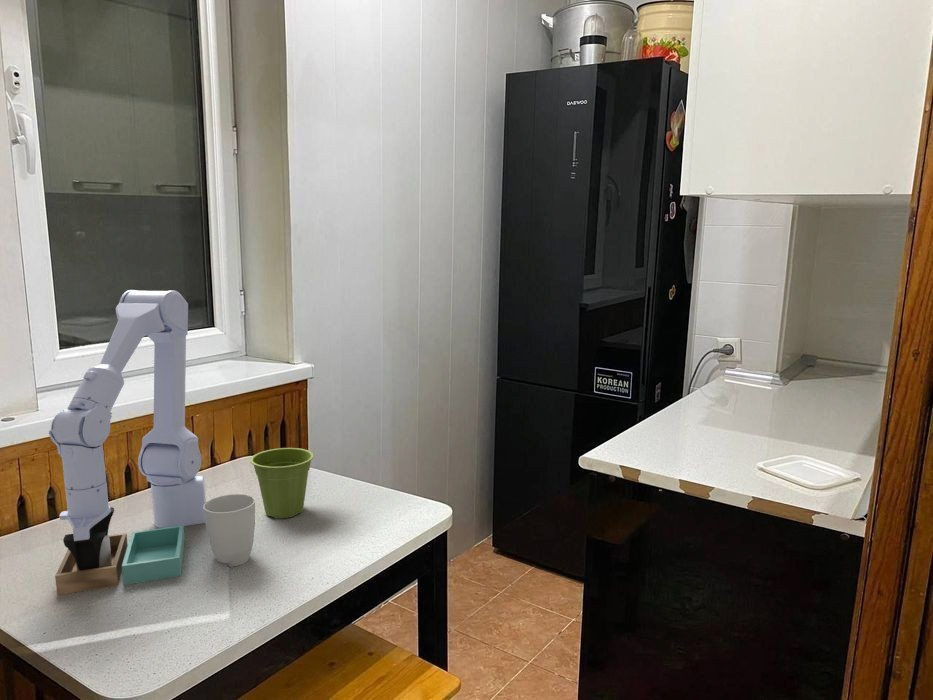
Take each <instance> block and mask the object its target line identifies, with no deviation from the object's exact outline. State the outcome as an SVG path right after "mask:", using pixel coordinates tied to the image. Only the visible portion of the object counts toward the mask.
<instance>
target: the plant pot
mask: <svg viewBox="0 0 933 700" xmlns="http://www.w3.org/2000/svg"><path fill="white" fill-rule="evenodd" d="M314 455H315V454H314V453H313V452H312V451H310V450H308V449H305V448H301V447H300V448H297V447H281V448H273V449H267V450H263V451H259V452H258V453H255V454H254V455H253V456H251V458H250V460H249V461H250V463H251V465H253V467H254V472H255V474H256V476H257V477H256V478H257V481H258V484H259V489H260V493H261V499H262V503H263V507H264V512H265V514H266V516H268V517H272V518H274V519H289V518H288V517H290V518H294V517H295V516H296V515H298V514H302V512H303V511H304V507H305V506H304V505H305V498H306V491H307V485H308V484H307V483H308V477H309V472H310V469H311V463H312V462H311V461H312V460H313V459H314Z"/></svg>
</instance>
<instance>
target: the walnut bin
mask: <svg viewBox="0 0 933 700" xmlns="http://www.w3.org/2000/svg"><path fill="white" fill-rule="evenodd" d="M127 534H128V533H127V532H124V533H123V532H122V533H115V534H108V536H109V538H110V548H111V558H112V566H109V567H102V568H95V569H88V570H81V571H77V567H76V560H75V558H74V556H73V555H72V553H71V552H70V550H69V549H68V548H67V550H66V553H65V554H64V557H63V559H62V561H61V562H60V565H59V567H58V569H57V571H56V574H55V576H54V578H55V587H56V595H57V596H61V595H66V594H67V595H68V594H74V593H79V592H87V591H93V590H98V589H106V588H112V587H117V586H119V582H120V579H121V576H122V564H123V560H124V557H125V553H126V550H127V546H128V543H129V542H128V535H127Z"/></svg>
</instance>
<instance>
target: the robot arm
mask: <svg viewBox="0 0 933 700" xmlns="http://www.w3.org/2000/svg"><path fill="white" fill-rule="evenodd" d="M115 315H116V318H117V323H116V325H115V327H114V330H113V332H112V334H111V337H110V339H109V341H108V344H107V347H106V349H105V352H104V353H103V356H102V358H101V360H100V362H99V364H98V365H94V366H92V367H89V368H88V369H87V371H86V372H85V374H84V375H83V377H82V381H81V382H80V384H79V386H78V388H77V389H76V392H75V394H74V395H73V397H72V399H71V401H70V403H69V405H68V406H67V408H65V409H63V410H62V411H59V412H58V413H57V414H56V415H55V416H54V418H53V419H52V422H51V425H50V430H48V435H49V438H50V440H51V442H53V444H55V445H56V446H55V447H56V448H57V454H58V455H59V457H60V458H61V462H62V472H63V480H64V481H63V482H64V489H65V499H66V507H67V510H63V511H61V512H60V513H59V516H58V517H59V520H60V521H62V520H66V521H68V523H69V524H70V526H71V527H72V533H70V534H65V535H64V537H63V539H62V540H63V544H64V546H65V548H66V549H67V550H68V549H69V550H70V552H71V553H72V555H73V556H74V558H75V560H76V563H77V565H78V568H79V571H81V570H88V569H95V568H99V562H100V550H101V545H102V541H103V539H104V537H105V535H107V536H108V535H109V530H110V529H109V527H110V523H111V519H112V517H113V515H114V512H115V507H112V506H110V505H109V499H108V498H109V497H108V486H107V485H108V484H107V483H108V482H107V475H106V465H105V455H104V445H103V444H104V443H105V441H106V440H107V439H108V438H109V436H110V432H111V419H112V418H113V417H112V414H113V413H112V412H111V411H112V409H113V407H114V405H115V403H116V401H117V399H118V397H119V394H121V391H122V388H123V387H124V385H125V379H124V377H123V375H122V372H123V371H124V369H125V367H126V366H127V363H129V361H130V359H131V357H132V356H133V354H134V352H135V351H136V349H137V348H138V346H139V345H140V343H141V342H142V340H143V338H144V337H146V336H147V337H148V338H149V339H150V340H151V342H153V344H154V357H153V358H154V359H153V361H154V362H153V363H154V364H153V366H154V367H153V372H154V373H153V374H154V375H153V428H152V429H151V430H149V432H148V433H146V434H145V435H144V436H143V437H142V439H141V449H140V452H139V455H138V459H137V465H138V466H137V467H138V469H139V471H140V473H141V474H142V475H143V476H144V477H146V482H147V483H148V482H149V483H150V490H151V491H150V492H151V501H152V512H153V523H154V524H153V525H154V526H155V527H156V528H157V529H159V528H166V527H174V526H181V525H183V527H187V526H192V525H199V524H206V522H205V515H204V509H203V506H204V504H205V503H206V502H207V500H206V499H207V498H206V484H205V477H204V476H205V475H197V474H198V473H199V472H200V469H201V466H202V454H201V452H200V448H199V447H200V446H199V437H198V436H197V435H195V433H193V432H192V431H191V430H189V429H188V428H187V427H186V369H187V368H186V366H187V365H186V359H187V351H186V350H187V335H188V334H189V333H188V331H189V328H188V327H189V324H188V323H189V303H188V302H187V301H186V299H185V297H183V295H182V294H181V293H180V292H179V291H177V290H173V289H172V290H136V289H129V290H126V291H125V292H124V293H122V295H121V296H120V299H119V303H118V304H117V305H116V307H115Z"/></svg>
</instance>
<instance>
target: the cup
mask: <svg viewBox="0 0 933 700" xmlns="http://www.w3.org/2000/svg"><path fill="white" fill-rule="evenodd" d="M203 509H204V515H205V522H206V523H205V527H206V534H207V537H208V541H209V544H210V547H211V551H212V554H213V555H214V557H215V559H216V561H217V562H218V563H221V564H226V567H227V568H231V567H237V566H240V565H243V564H245V563H247V562H248V561H249V560H250V556H251V552H252V548H253V545H254V537H255V535H254V534H255V529H256V528H255V527H256V499H255V497H254V496H252V495H249V494H246V493H245V494H243V493H233V494H232V493H231V494H224V495H221V496H217V497H213V498H212V499H210V500H206V503H205V504H204V506H203Z"/></svg>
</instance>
